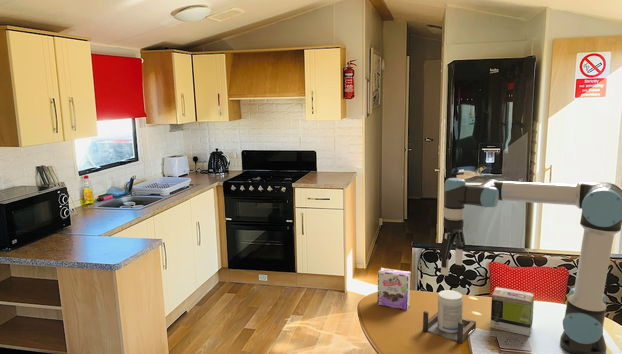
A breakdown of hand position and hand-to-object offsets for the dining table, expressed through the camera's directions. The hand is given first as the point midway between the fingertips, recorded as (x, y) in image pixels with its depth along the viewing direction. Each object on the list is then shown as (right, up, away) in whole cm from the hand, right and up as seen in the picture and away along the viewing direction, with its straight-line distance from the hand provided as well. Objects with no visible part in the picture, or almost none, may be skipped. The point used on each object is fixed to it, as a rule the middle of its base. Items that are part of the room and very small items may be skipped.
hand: (451, 269), depth 188 cm
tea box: (+26, -25, +7) cm, 37 cm away
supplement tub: (0, -25, +5) cm, 26 cm away
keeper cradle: (0, -26, +5) cm, 26 cm away
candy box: (-18, -22, +28) cm, 40 cm away
